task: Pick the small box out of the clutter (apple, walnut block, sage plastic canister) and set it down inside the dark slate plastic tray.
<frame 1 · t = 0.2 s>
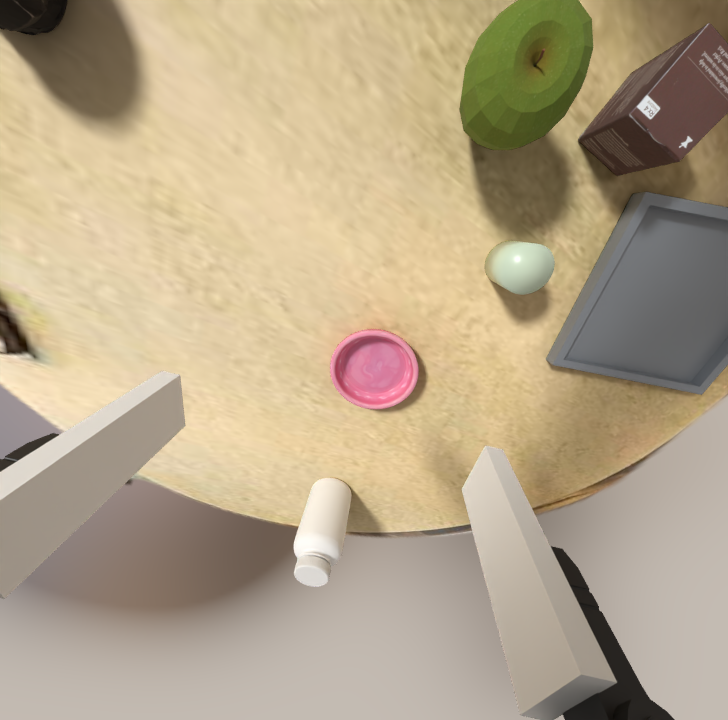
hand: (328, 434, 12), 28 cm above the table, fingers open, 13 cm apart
box: (620, 128, 28), on the table
pill bottle: (331, 489, 54), on the table
apple: (488, 116, 28), on the table
sage canister: (506, 262, 34), on the table
pink shallow round dish: (375, 362, 42), on the table
tray: (664, 303, 34), on the table
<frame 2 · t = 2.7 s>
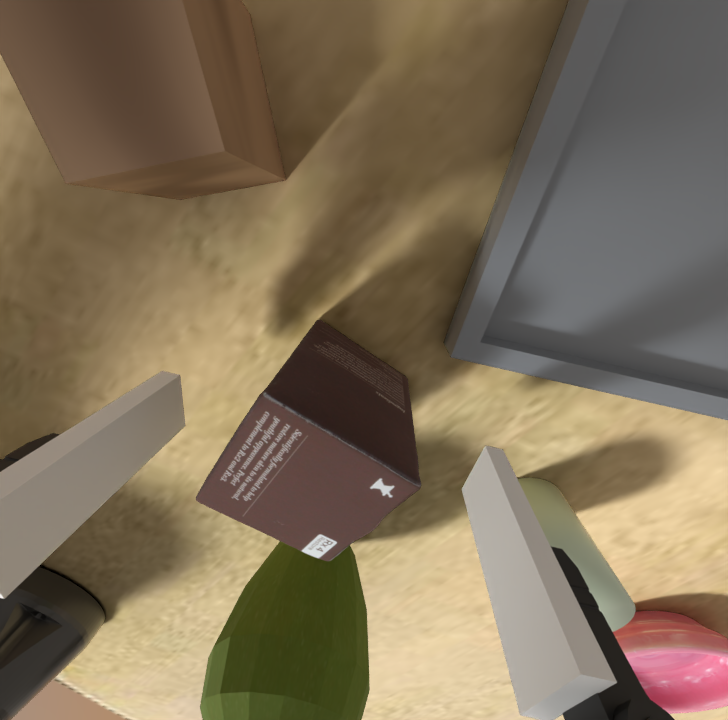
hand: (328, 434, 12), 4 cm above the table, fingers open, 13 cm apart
box: (337, 383, 16), on the table
walnut block: (212, 119, 11), on the table
apple: (322, 525, 22), on the table
sage canister: (522, 504, 19), on the table
pink shallow round dish: (635, 632, 25), on the table
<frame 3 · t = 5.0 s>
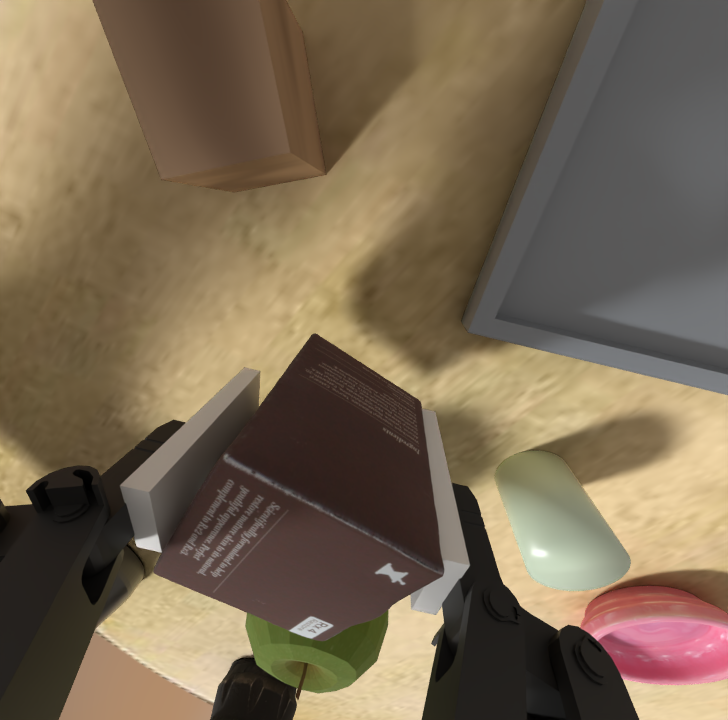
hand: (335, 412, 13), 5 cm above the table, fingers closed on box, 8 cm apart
box: (337, 405, 14), point 5 cm above the table, touching gripper
walnut block: (265, 121, 13), on the table
container: (265, 670, 46), on the table
apple: (343, 492, 24), on the table
sage canister: (530, 476, 20), on the table
pink shallow round dish: (638, 607, 26), on the table
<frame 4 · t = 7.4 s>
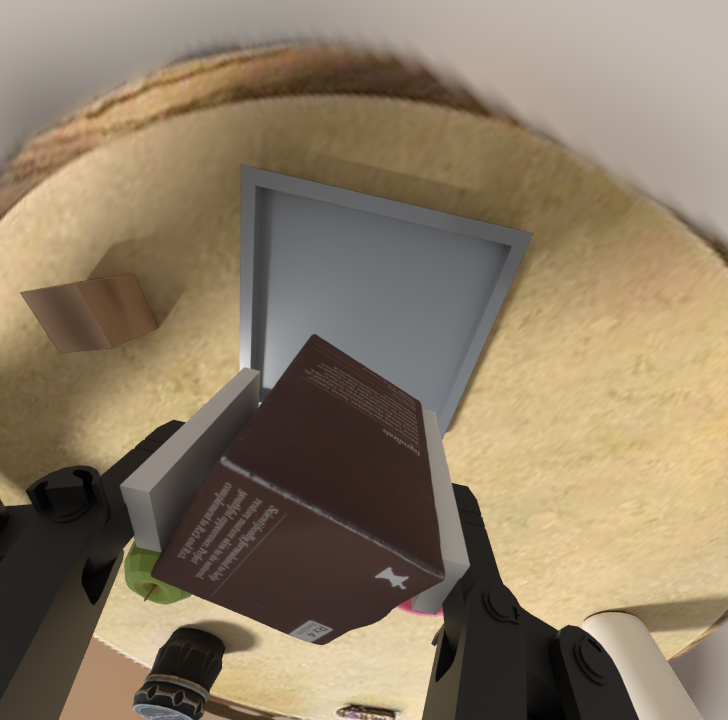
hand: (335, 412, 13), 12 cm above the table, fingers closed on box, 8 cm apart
box: (337, 406, 14), point 12 cm above the table, touching gripper
walnut block: (123, 304, 26), on the table
container: (199, 639, 58), on the table
pill bottle: (608, 621, 41), on the table
apple: (216, 493, 37), on the table
tray: (360, 328, 24), on the table
when the fingers open (2 cm above the table, at t = 10.0 s): box stays where it is, resting on tray.
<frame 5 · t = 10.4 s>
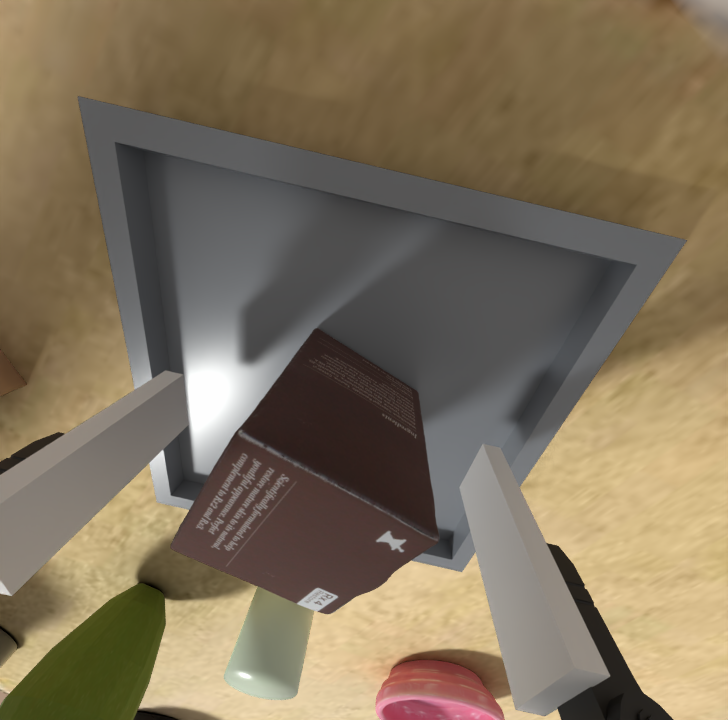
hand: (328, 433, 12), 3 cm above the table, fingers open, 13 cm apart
box: (339, 398, 15), resting on tray
apple: (154, 587, 27), on the table
sage canister: (290, 581, 24), on the table
pink shallow round dish: (434, 674, 30), on the table
tray: (341, 394, 15), on the table
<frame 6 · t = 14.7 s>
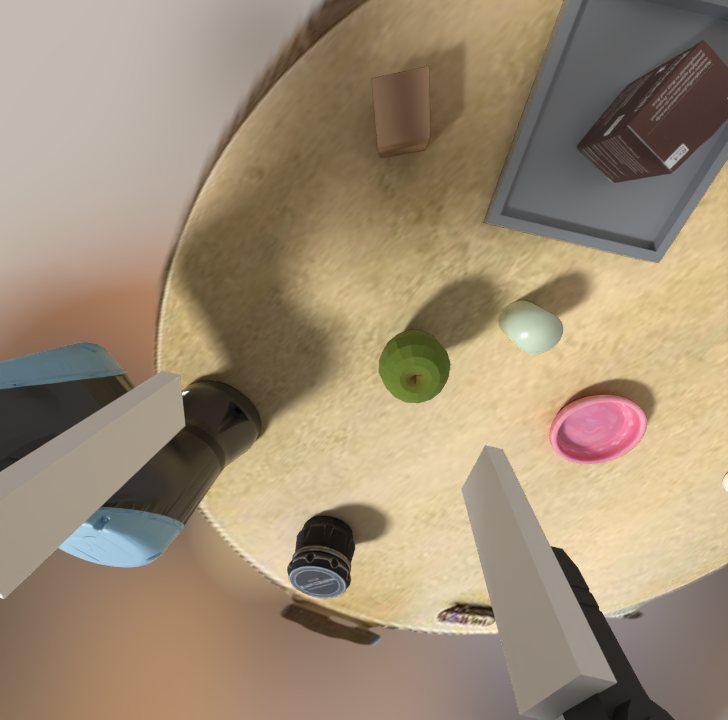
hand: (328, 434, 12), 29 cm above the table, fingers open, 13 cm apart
box: (618, 138, 28), resting on tray
walnut block: (400, 126, 30), on the table
container: (328, 531, 62), on the table
apple: (410, 343, 41), on the table
sage canister: (518, 318, 37), on the table
pink shallow round dish: (584, 419, 44), on the table
tray: (615, 139, 29), on the table
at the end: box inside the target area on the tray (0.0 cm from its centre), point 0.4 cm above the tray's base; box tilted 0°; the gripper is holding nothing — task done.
